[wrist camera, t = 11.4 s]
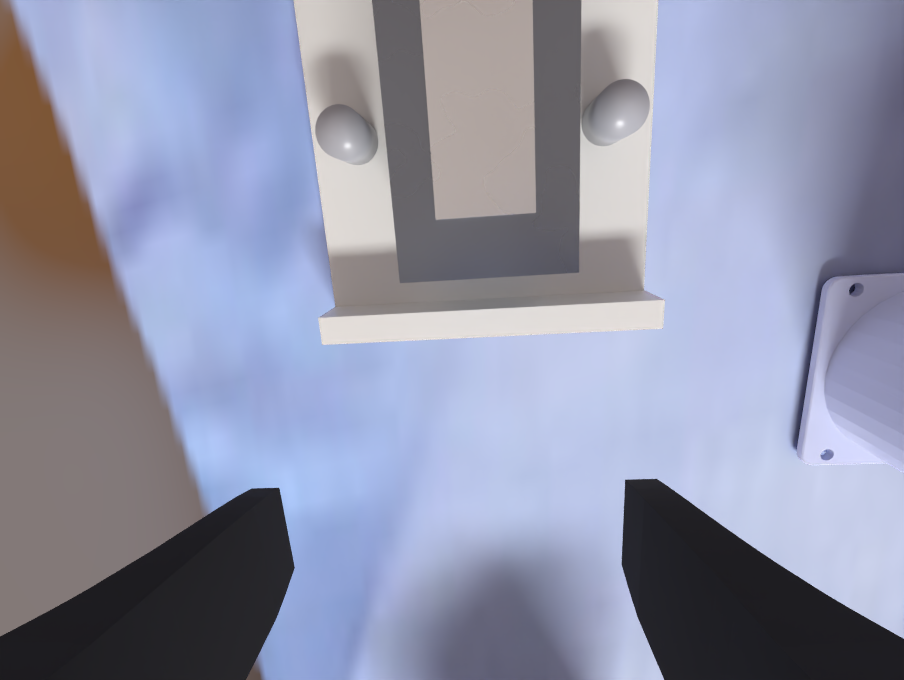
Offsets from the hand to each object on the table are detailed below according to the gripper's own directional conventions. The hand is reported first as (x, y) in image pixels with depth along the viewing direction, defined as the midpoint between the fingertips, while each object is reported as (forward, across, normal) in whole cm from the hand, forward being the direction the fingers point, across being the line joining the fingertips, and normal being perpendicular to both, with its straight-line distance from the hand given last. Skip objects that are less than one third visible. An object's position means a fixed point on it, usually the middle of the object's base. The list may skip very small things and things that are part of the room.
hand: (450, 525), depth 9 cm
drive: (+9, -1, -9) cm, 13 cm away
